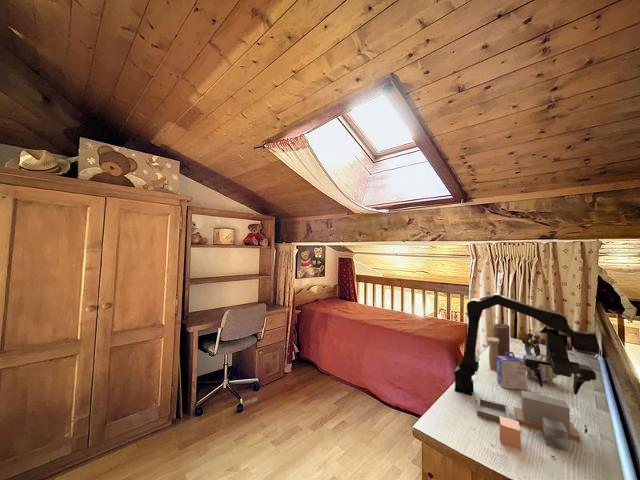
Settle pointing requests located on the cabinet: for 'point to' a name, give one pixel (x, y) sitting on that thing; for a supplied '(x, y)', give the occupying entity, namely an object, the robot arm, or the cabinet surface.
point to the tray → (491, 409)
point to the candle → (502, 338)
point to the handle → (493, 352)
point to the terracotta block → (510, 433)
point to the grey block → (555, 434)
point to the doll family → (531, 344)
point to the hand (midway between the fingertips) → (557, 390)
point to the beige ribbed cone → (542, 372)
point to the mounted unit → (544, 412)
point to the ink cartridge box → (511, 372)
